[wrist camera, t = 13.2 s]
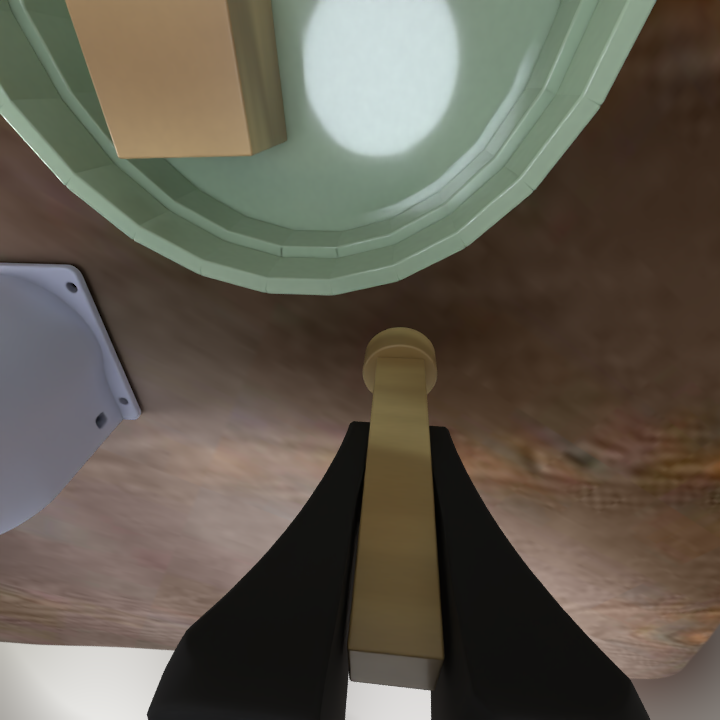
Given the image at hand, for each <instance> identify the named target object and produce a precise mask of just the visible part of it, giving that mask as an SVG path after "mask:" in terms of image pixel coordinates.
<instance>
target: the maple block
mask: <svg viewBox="0 0 720 720" xmlns="http://www.w3.org/2000/svg"><path fill="white" fill-rule="evenodd" d="M65 2H66V5H67V8H68V11H69V14H70V17H71V20H72V22H73V25H74V28H75V31H76V34H77V37H78V40H79V43H80V46H81V49H82V52H83V55H84V58H85V61H86V64H87V67H88V70H89V73H90V76H91V79H92V82H93V85H94V88H95V90H96V93H97V96H98V99H99V102H100V105H101V108H102V111H103V114H104V117H105V120H106V123H107V126H108V129H109V132H110V135H111V138H112V141H113V144H114V147H115V150H116V153H117V155H118V157H119V158H120V159H143V158H189V157H235V156H253V155H255V154H257V153H260V152H262V151H265V150H267V149H269V148H272V147H274V146H276V145H279V144H281V143H284V142H286V141H287V133H286V124H285V116H284V107H283V99H282V90H281V82H280V73H279V65H278V56H277V48H276V39H275V31H274V22H273V14H272V5H271V0H65Z"/></svg>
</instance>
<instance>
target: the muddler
mask: <svg viewBox="0 0 720 720" xmlns="http://www.w3.org/2000/svg"><path fill="white" fill-rule="evenodd" d="M363 379H364V382H365V384H366V386H367V388H368V389H369V390H370V391H371V392H372V393H373V400H372V410H371V419H370V429H369V439H368V448H367V458H366V468H365V477H364V487H363V496H362V506H361V516H360V525H359V535H358V545H357V554H356V564H355V574H354V583H353V593H352V603H351V612H350V622H349V632H348V641H347V654H348V666H349V678H350V680H351V681H354V682H363V683H372V684H379V685H388V686H397V687H406V688H415V689H423V690H432V691H433V690H435V687H436V684H437V681H438V678H439V674H440V671H441V668H442V664H443V661H444V658H445V654H444V639H443V625H442V610H441V595H440V580H439V566H438V551H437V536H436V521H435V506H434V492H433V477H432V462H431V447H430V433H429V418H428V403H427V394H428V393H429V392H430V391H431V390H432V388H433V387H434V385H435V383H436V380H437V365H436V355H435V350H434V347H433V345H432V343H431V342H430V340H429V339H428V338H427V337H426V336H424V335H423V334H422V333H420V332H418V331H416V330H413V329H410V328H404V327H396V328H390V329H387V330H384V331H382V332H380V333H379V334H377V335H376V336H375V337H373V338H372V340H371V341H370V342H369V344H368V346H367V348H366V352H365V358H364V365H363Z"/></svg>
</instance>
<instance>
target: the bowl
mask: <svg viewBox="0 0 720 720" xmlns="http://www.w3.org/2000/svg"><path fill="white" fill-rule="evenodd" d="M655 2H656V0H271V5H272V14H273V22H274V31H275V39H276V48H277V56H278V65H279V73H280V82H281V90H282V99H283V107H284V116H285V124H286V133H287V141H286V142H284V143H281V144H279V145H276V146H274V147H272V148H269V149H267V150H265V151H262V152H260V153H257V154H255V155H253V156H235V157H189V158H143V159H120V158H119V157H118V155H117V153H116V150H115V147H114V144H113V141H112V138H111V135H110V132H109V129H108V126H107V123H106V120H105V117H104V114H103V111H102V108H101V105H100V102H99V99H98V96H97V93H96V90H95V88H94V85H93V82H92V79H91V76H90V73H89V70H88V67H87V64H86V61H85V58H84V55H83V52H82V49H81V46H80V43H79V40H78V37H77V34H76V31H75V28H74V25H73V22H72V20H71V17H70V14H69V11H68V8H67V5H66V2H65V0H0V114H1V115H2V116H3V117H4V119H5V120H6V121H7V122H8V123H9V124H10V125H11V126H12V127H13V129H14V130H15V131H16V132H17V133H18V134H19V135H20V136H21V137H22V139H23V140H24V141H25V142H26V143H27V144H28V145H29V146H30V147H31V149H32V150H33V151H34V152H35V153H36V154H37V155H38V156H39V157H40V159H41V160H42V161H43V162H44V163H45V164H46V165H47V166H48V167H49V169H50V170H51V171H52V172H53V173H54V174H55V175H56V176H57V177H58V179H59V180H60V181H61V182H62V183H63V184H64V185H66V186H67V188H68V189H69V190H71V191H72V192H73V193H74V194H76V195H77V196H78V197H80V198H81V199H82V200H83V201H85V202H86V203H87V204H88V205H90V206H91V207H92V208H93V209H95V210H96V211H97V212H98V213H100V214H101V215H102V216H103V217H105V218H106V219H107V220H108V221H110V222H111V223H112V224H114V225H115V226H116V227H117V228H119V229H120V230H121V231H122V232H124V233H125V234H126V235H127V236H129V237H130V238H131V239H134V240H135V241H136V242H138V243H140V244H142V245H144V246H145V247H147V248H149V249H151V250H153V251H155V252H157V253H159V254H161V255H163V256H165V257H166V258H168V259H170V260H172V261H174V262H176V263H178V264H180V265H182V266H184V267H186V268H187V269H189V270H191V271H193V272H195V273H197V274H201V275H202V276H205V277H209V278H213V279H216V280H220V281H223V282H227V283H231V284H234V285H238V286H242V287H245V288H249V289H252V290H256V291H260V292H263V293H266V292H267V293H273V294H303V295H338V294H342V293H347V292H352V291H356V290H361V289H365V288H370V287H375V286H379V285H384V284H388V283H393V282H397V281H399V280H402V279H404V278H406V277H408V276H410V275H412V274H414V273H416V272H418V271H420V270H422V269H424V268H426V267H428V266H430V265H432V264H434V263H436V262H438V261H440V260H442V259H444V258H446V257H448V256H450V255H452V254H454V253H456V252H458V251H460V250H462V249H464V248H465V246H466V247H467V246H469V245H470V244H471V243H472V242H474V241H475V240H476V239H477V238H478V237H480V236H481V235H482V234H483V233H485V232H486V231H487V230H488V229H489V228H491V227H492V226H493V225H494V224H495V223H497V222H498V221H499V220H500V219H501V218H503V217H504V216H505V215H506V214H507V213H509V212H510V211H511V210H512V209H513V208H515V207H516V206H517V205H518V204H520V203H521V202H522V201H523V200H524V199H526V198H527V197H528V196H529V195H530V194H532V192H533V190H535V189H536V188H537V187H538V186H539V184H540V183H541V182H542V181H543V179H544V178H545V177H546V176H547V174H548V173H549V172H550V171H551V169H552V168H553V167H554V165H555V164H556V163H557V162H558V160H559V159H560V158H561V157H562V155H563V154H564V153H565V152H566V150H567V149H568V148H569V147H570V145H571V144H572V143H573V141H574V140H575V139H576V138H577V136H578V135H579V134H580V133H581V131H582V130H583V129H584V128H585V126H586V125H587V124H588V122H589V121H590V120H591V119H592V117H593V116H594V115H595V114H596V112H597V111H598V110H599V108H600V105H601V104H602V103H603V102H604V100H605V98H606V96H607V94H608V92H609V91H610V89H611V87H612V85H613V83H614V81H615V79H616V77H617V75H618V73H619V71H620V69H621V68H622V66H623V64H624V62H625V60H626V58H627V56H628V54H629V52H630V50H631V48H632V46H633V44H634V43H635V41H636V39H637V37H638V35H639V33H640V31H641V29H642V27H643V25H644V23H645V21H646V19H647V18H648V16H649V14H650V12H651V10H652V8H653V6H654V4H655Z"/></svg>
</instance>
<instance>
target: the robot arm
mask: <svg viewBox="0 0 720 720" xmlns="http://www.w3.org/2000/svg"><path fill="white" fill-rule="evenodd" d="M72 283H73V284H74V285H75V286H76V287H77V288H75V287H74V286H73V284H72ZM140 415H141V410H140V408H139V405H138V403H137V401H136V398H135V396H134V394H133V391H132V389H131V387H130V384H129V382H128V380H127V377H126V375H125V373H124V370H123V368H122V366H121V363H120V361H119V359H118V357H117V354H116V352H115V350H114V347H113V345H112V343H111V340H110V338H109V336H108V333H107V331H106V329H105V326H104V324H103V322H102V319H101V317H100V315H99V313H98V310H97V308H96V306H95V303H94V301H93V299H92V296H91V294H90V292H89V289H88V287H87V285H86V282H85V280H84V278H83V275H82V274H81V272H80V271H79V270H78V269H77V268H76V267H74V266H72V265H66V264H31V263H0V535H1V534H3V533H5V532H7V531H9V530H11V529H13V528H15V527H17V526H19V525H20V524H22V523H24V522H25V521H27V520H28V519H30V518H31V517H33V516H34V515H36V514H37V513H38V512H40V511H41V510H42V509H44V508H45V507H46V506H47V505H48V504H49V503H50V502H52V501H53V500H54V498H55V497H56V496H57V495H58V494H59V493H60V492H61V491H62V490H63V489H64V487H65V486H66V485H67V484H68V483H69V482H70V480H71V479H72V478H73V477H74V476H75V475H76V473H77V472H78V471H79V470H80V469H81V468H82V466H83V465H84V464H85V463H86V462H87V461H88V459H89V458H90V457H91V456H92V455H93V454H94V452H95V451H96V450H97V449H98V448H99V447H100V445H101V444H102V443H103V442H104V441H105V440H106V438H107V437H108V436H109V435H110V434H111V433H112V431H113V430H114V429H115V428H116V427H117V426H118V425H119V423H120V422H121V421H122V420H123V419H127V420H136V419H138V417H139V416H140ZM369 429H370V422H356V421H353V422H352V423H350V425H349V428H348V431H347V433H346V435H345V438H344V440H343V442H342V444H341V446H340V448H339V450H338V452H337V454H336V456H335V458H334V460H333V461H332V463H331V465H330V467H329V468H328V470H327V472H326V474H325V475H324V477H323V479H322V480H321V482H320V483H319V485H318V486H317V488H316V489H315V491H314V492H313V494H312V495H311V497H310V498H309V500H308V501H307V503H306V504H305V506H304V507H303V508H302V510H301V511H300V512H299V514H298V515H297V516H296V518H295V519H294V520H293V522H292V523H291V524H290V525H289V527H288V528H287V529H286V530H285V532H284V533H283V534H282V535H281V536H280V538H279V539H278V540H277V541H276V542H275V543H274V545H273V546H272V547H271V548H270V549H269V551H268V552H267V553H266V554H265V555H264V556H263V557H262V558H261V559H260V560H259V562H258V563H257V564H256V565H255V566H254V567H253V568H252V569H251V570H250V571H249V572H248V573H247V574H246V575H245V576H244V577H243V578H242V579H241V580H240V581H239V582H238V583H237V584H236V585H235V586H234V587H233V588H232V589H231V590H230V591H229V592H228V593H227V594H226V595H225V596H224V597H223V598H222V599H221V600H220V601H218V602H217V603H216V604H215V605H214V606H213V607H212V608H211V609H210V610H208V611H207V612H206V613H205V614H204V615H203V616H202V617H201V618H200V619H199V620H197V621H196V622H195V623H194V624H193V625H192V626H191V627H190V628H189V629H188V630H187V631H186V632H185V634H184V636H183V637H182V639H181V641H180V642H179V644H178V646H177V648H176V649H175V651H174V653H173V655H172V657H171V659H170V661H169V663H168V664H167V666H166V668H165V671H164V673H163V675H162V677H161V680H160V682H159V685H158V687H157V690H156V692H155V695H154V697H153V700H152V702H151V705H150V707H149V710H148V713H147V716H148V720H345V709H346V698H347V685H348V674H349V666H348V654H347V641H348V632H349V622H350V612H351V603H352V593H353V583H354V574H355V564H356V554H357V545H358V535H359V525H360V516H361V506H362V496H363V487H364V477H365V468H366V458H367V448H368V439H369ZM429 433H430V447H431V462H432V477H433V492H434V506H435V521H436V536H437V551H438V566H439V580H440V595H441V610H442V625H443V639H444V654H445V658H444V661H443V664H442V668H441V671H440V674H439V678H438V681H437V684H436V687H435V690H433V691H432V690H431V720H650V718H649V716H648V714H647V712H646V710H645V708H644V706H643V704H642V702H641V700H640V698H639V696H638V694H637V692H636V690H635V688H634V686H633V684H632V682H631V680H630V679H629V678H628V677H627V676H626V675H625V674H624V673H623V672H622V671H621V670H620V669H619V668H618V667H617V666H616V665H615V664H614V663H613V662H612V661H611V660H610V659H609V658H608V657H607V656H606V655H605V654H604V653H603V652H602V651H601V650H600V648H599V647H598V646H597V645H596V644H595V643H594V642H593V641H592V640H591V639H590V638H589V637H588V636H587V635H586V634H585V633H584V632H583V631H582V629H581V628H580V627H579V626H578V625H577V624H576V623H575V622H574V621H573V620H572V618H571V617H570V616H569V615H568V614H567V613H566V612H565V611H564V610H563V609H562V607H561V606H560V605H559V604H558V603H557V601H556V600H555V599H554V598H553V597H552V595H551V594H550V593H549V592H548V591H547V589H546V588H545V587H544V586H543V585H542V583H541V582H540V581H539V580H538V579H537V577H536V576H535V575H534V574H533V573H532V571H531V570H530V569H529V568H528V566H527V565H526V564H525V562H524V561H523V560H522V558H521V557H520V556H519V554H518V553H517V552H516V550H515V549H514V548H513V546H512V545H511V543H510V542H509V541H508V539H507V538H506V536H505V535H504V533H503V532H502V530H501V529H500V528H499V526H498V525H497V523H496V521H495V520H494V518H493V517H492V515H491V514H490V512H489V510H488V509H487V507H486V505H485V504H484V502H483V501H482V499H481V497H480V495H479V494H478V492H477V490H476V488H475V486H474V485H473V483H472V481H471V479H470V477H469V475H468V474H467V472H466V470H465V468H464V466H463V464H462V462H461V459H460V457H459V455H458V453H457V451H456V448H455V446H454V444H453V441H452V439H451V436H450V433H449V430H448V429H447V428H446V427H439V426H429Z"/></svg>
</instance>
